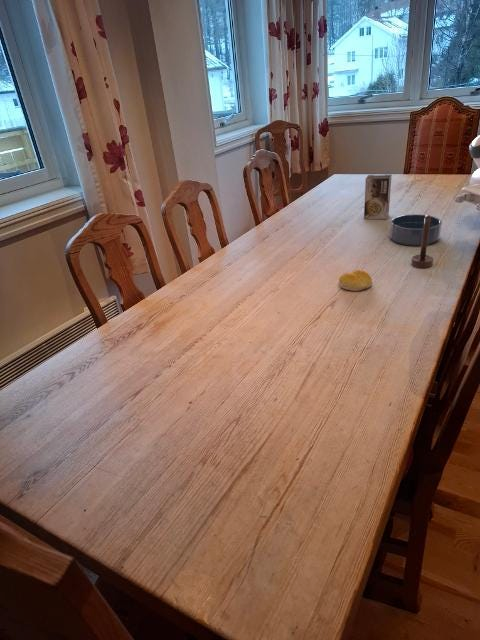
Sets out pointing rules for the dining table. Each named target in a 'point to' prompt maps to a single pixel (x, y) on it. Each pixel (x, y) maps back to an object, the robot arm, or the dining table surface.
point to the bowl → (413, 229)
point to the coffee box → (377, 196)
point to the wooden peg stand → (423, 248)
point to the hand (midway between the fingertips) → (467, 203)
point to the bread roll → (355, 280)
